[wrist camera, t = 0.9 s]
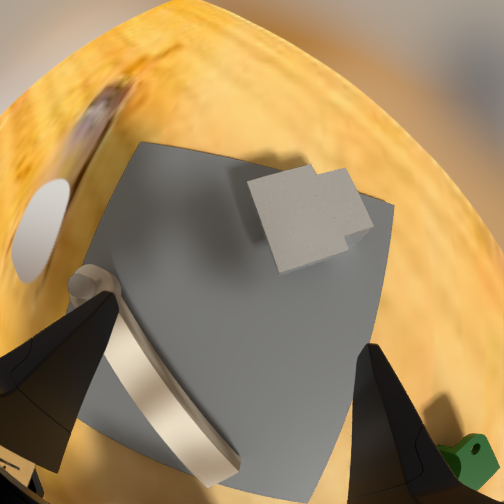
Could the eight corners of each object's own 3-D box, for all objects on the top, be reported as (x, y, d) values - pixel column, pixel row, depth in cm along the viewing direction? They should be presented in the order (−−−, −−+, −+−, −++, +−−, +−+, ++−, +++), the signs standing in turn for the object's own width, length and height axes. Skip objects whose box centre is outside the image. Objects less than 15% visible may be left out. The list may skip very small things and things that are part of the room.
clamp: (427, 435, 23) (488, 415, 16) (446, 468, 20) (507, 454, 13) (351, 506, 17) (413, 514, 10) (375, 540, 14) (437, 551, 8)
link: (78, 287, 23) (51, 278, 19) (108, 262, 23) (84, 248, 20) (207, 477, 18) (198, 500, 14) (246, 456, 19) (243, 478, 15)
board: (306, 498, 18) (307, 503, 17) (53, 395, 21) (47, 397, 20) (390, 209, 25) (394, 205, 24) (143, 147, 28) (140, 141, 27)
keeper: (275, 286, 24) (279, 273, 19) (250, 211, 26) (246, 181, 21) (357, 258, 24) (379, 238, 19) (327, 189, 26) (339, 157, 21)
